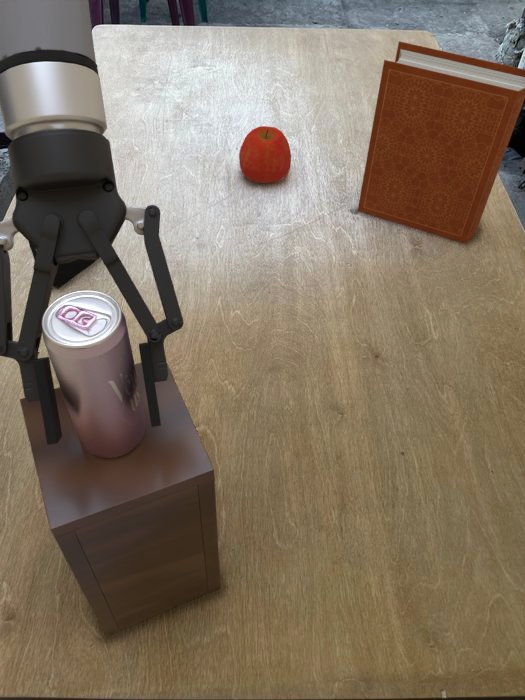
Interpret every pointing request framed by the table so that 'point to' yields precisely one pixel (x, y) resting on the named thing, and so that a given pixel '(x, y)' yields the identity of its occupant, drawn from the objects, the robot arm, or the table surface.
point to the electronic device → (66, 269)
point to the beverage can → (95, 371)
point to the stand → (132, 511)
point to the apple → (265, 155)
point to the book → (439, 139)
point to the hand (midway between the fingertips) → (106, 431)
